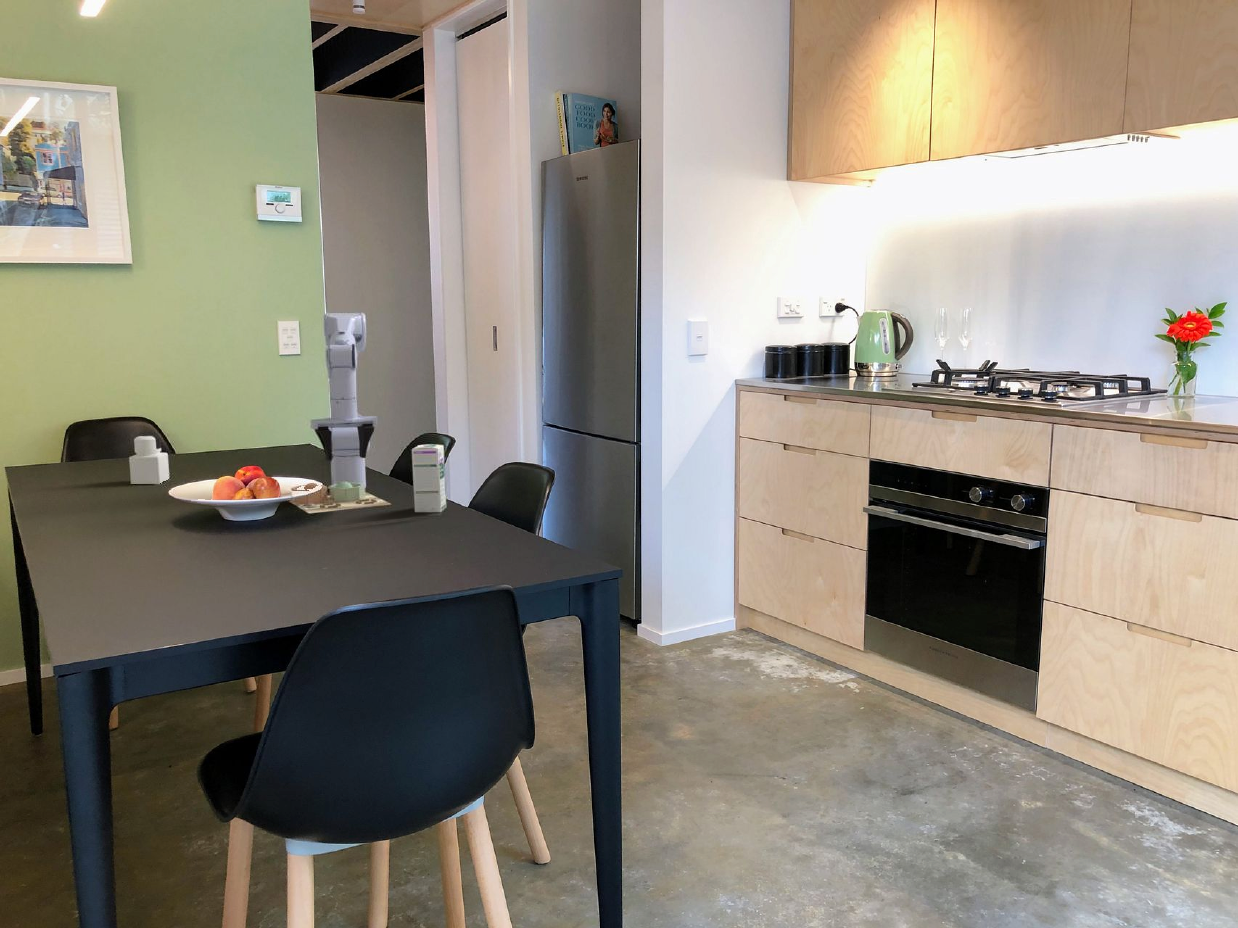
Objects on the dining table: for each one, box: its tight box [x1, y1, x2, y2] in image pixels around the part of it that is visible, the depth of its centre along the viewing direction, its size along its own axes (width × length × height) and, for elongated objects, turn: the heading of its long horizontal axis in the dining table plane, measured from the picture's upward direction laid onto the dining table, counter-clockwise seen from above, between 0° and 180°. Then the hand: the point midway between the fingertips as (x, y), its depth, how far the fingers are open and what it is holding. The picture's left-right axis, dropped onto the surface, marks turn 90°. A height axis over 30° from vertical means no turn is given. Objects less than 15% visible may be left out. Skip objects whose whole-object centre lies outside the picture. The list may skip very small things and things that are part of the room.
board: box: [288, 491, 392, 514], centre depth 216 cm, size 18×18×1 cm
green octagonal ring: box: [329, 483, 366, 502], centre depth 220 cm, size 7×7×3 cm
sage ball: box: [336, 481, 352, 488], centre depth 219 cm, size 4×4×4 cm
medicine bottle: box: [128, 434, 170, 485], centre depth 246 cm, size 7×7×12 cm
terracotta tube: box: [290, 484, 329, 504], centre depth 217 cm, size 7×7×3 cm
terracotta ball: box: [304, 482, 319, 490], centre depth 217 cm, size 4×4×4 cm
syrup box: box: [411, 443, 447, 516], centre depth 206 cm, size 6×6×14 cm
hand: (346, 458), depth 218 cm, fingers open, 7 cm apart
